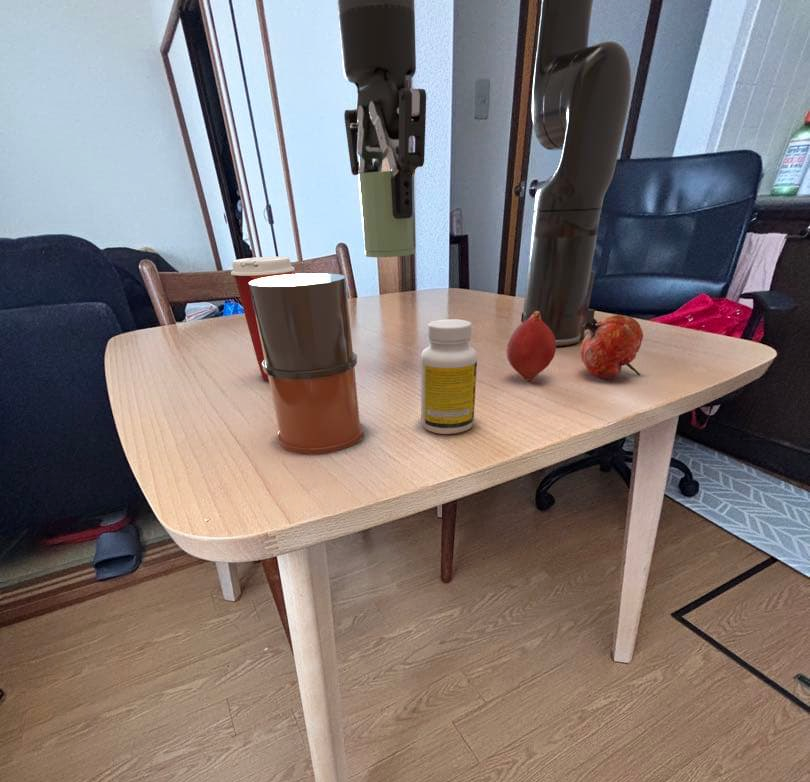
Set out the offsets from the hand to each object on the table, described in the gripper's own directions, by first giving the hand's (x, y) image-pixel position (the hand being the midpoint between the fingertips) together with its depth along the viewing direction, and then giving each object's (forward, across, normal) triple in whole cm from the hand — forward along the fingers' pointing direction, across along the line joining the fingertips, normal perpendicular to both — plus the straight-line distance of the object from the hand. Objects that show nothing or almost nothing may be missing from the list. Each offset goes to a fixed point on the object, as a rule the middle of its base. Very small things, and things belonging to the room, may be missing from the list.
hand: (387, 218), depth 56 cm
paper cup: (+18, +7, +14) cm, 24 cm away
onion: (+18, -15, -11) cm, 26 cm away
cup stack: (+17, -16, +18) cm, 30 cm away
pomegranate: (+18, -20, -20) cm, 33 cm away
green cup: (+4, 0, 0) cm, 4 cm away
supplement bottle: (+18, -21, +6) cm, 28 cm away
